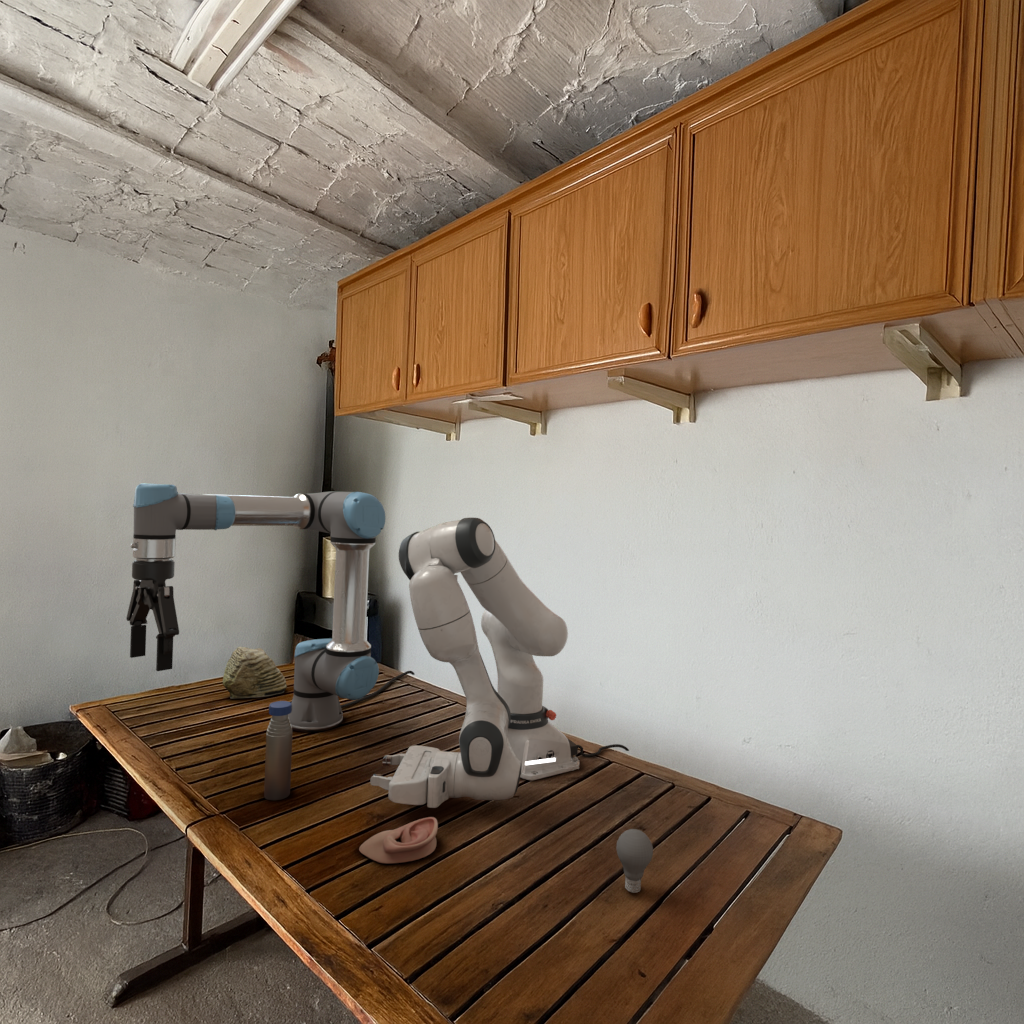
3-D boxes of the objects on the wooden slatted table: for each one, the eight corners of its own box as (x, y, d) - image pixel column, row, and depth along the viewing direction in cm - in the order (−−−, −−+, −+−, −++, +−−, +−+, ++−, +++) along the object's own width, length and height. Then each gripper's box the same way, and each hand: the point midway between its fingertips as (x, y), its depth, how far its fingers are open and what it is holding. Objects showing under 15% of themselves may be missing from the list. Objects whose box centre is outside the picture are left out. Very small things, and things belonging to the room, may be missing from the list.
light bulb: (610, 879, 108) (613, 822, 108) (644, 879, 109) (647, 822, 109) (619, 902, 102) (622, 840, 102) (655, 901, 103) (658, 840, 103)
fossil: (218, 695, 195) (220, 647, 195) (278, 685, 208) (279, 640, 207) (228, 703, 189) (230, 653, 188) (289, 692, 201) (290, 645, 201)
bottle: (295, 792, 135) (298, 704, 135) (278, 802, 131) (282, 711, 130) (275, 787, 137) (279, 700, 137) (258, 797, 132) (261, 707, 132)
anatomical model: (352, 836, 111) (378, 805, 123) (351, 858, 111) (377, 826, 123) (423, 847, 109) (444, 815, 120) (422, 870, 109) (443, 836, 120)
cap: (296, 711, 135) (296, 702, 135) (281, 717, 131) (281, 709, 131) (279, 707, 136) (279, 699, 136) (264, 714, 132) (264, 705, 132)
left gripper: (111, 554, 134) (108, 654, 134) (159, 566, 118) (155, 679, 118) (149, 553, 140) (146, 648, 140) (200, 564, 124) (196, 672, 124)
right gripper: (451, 740, 142) (390, 736, 143) (435, 780, 122) (364, 775, 123) (449, 768, 142) (389, 764, 143) (433, 812, 122) (363, 807, 123)
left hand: (150, 663), depth 129 cm, fingers open, 13 cm apart
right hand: (377, 769), depth 133 cm, fingers open, 8 cm apart
